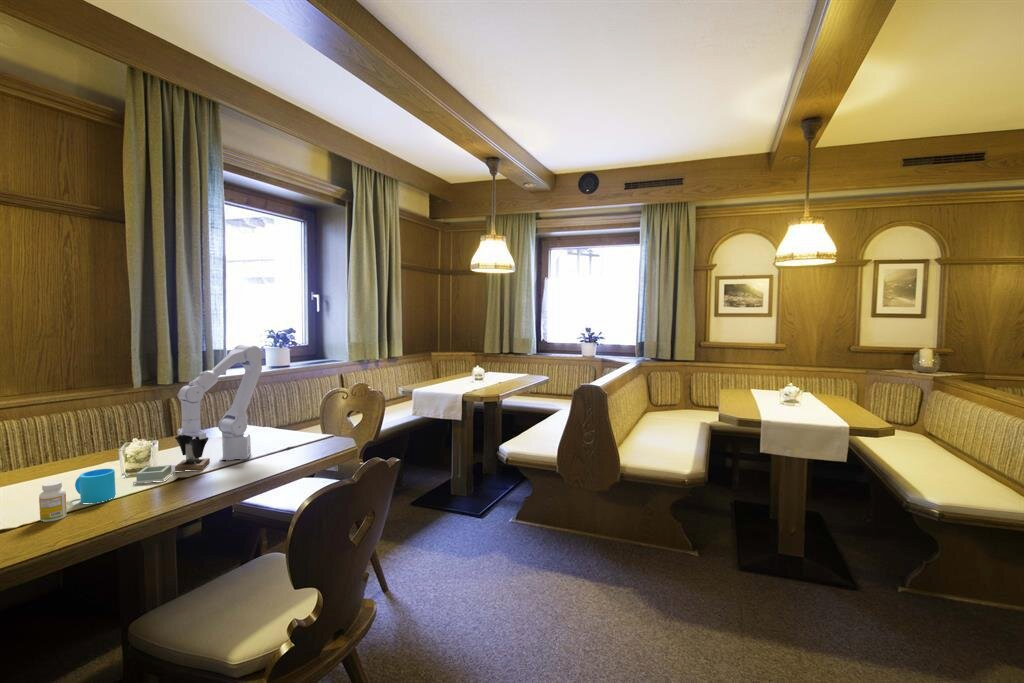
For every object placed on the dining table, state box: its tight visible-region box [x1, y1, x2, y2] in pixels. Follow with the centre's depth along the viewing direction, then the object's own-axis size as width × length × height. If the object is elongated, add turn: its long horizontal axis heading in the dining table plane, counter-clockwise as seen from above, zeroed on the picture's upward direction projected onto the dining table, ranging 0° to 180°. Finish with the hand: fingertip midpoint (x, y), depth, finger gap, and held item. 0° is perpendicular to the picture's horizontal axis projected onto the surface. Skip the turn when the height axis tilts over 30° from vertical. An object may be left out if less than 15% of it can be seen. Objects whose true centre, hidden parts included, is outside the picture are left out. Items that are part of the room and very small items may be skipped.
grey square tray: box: [132, 464, 176, 485], centre depth 170 cm, size 9×9×3 cm
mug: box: [74, 468, 117, 504], centre depth 151 cm, size 12×8×8 cm
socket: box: [174, 457, 211, 471], centre depth 182 cm, size 9×9×2 cm
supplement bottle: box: [38, 480, 68, 523], centre depth 137 cm, size 5×5×10 cm
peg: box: [185, 442, 200, 465], centre depth 181 cm, size 4×4×9 cm
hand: (192, 456), depth 181 cm, fingers open, 7 cm apart
